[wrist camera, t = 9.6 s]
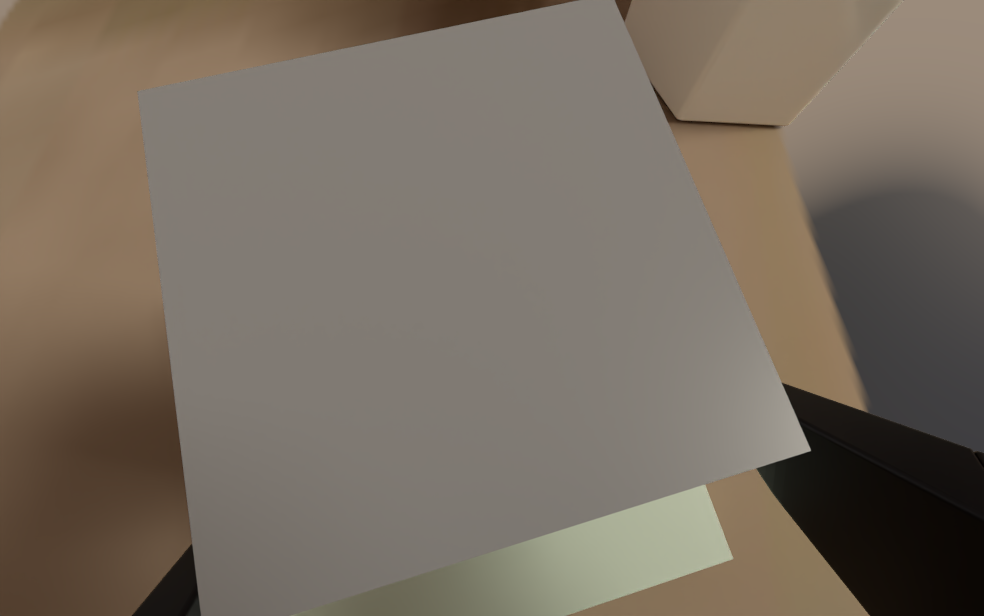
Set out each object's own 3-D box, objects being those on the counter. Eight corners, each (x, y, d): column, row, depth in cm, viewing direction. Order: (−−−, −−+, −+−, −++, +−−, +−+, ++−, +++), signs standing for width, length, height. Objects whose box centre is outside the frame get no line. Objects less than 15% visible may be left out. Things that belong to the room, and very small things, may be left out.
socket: (689, 543, 17) (733, 559, 14) (335, 661, 16) (304, 704, 13) (575, 228, 20) (592, 188, 17) (270, 306, 19) (233, 277, 16)
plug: (549, 464, 17) (811, 451, 4) (421, 502, 17) (203, 643, 3) (511, 341, 18) (611, -7, 5) (390, 374, 18) (138, 91, 4)
